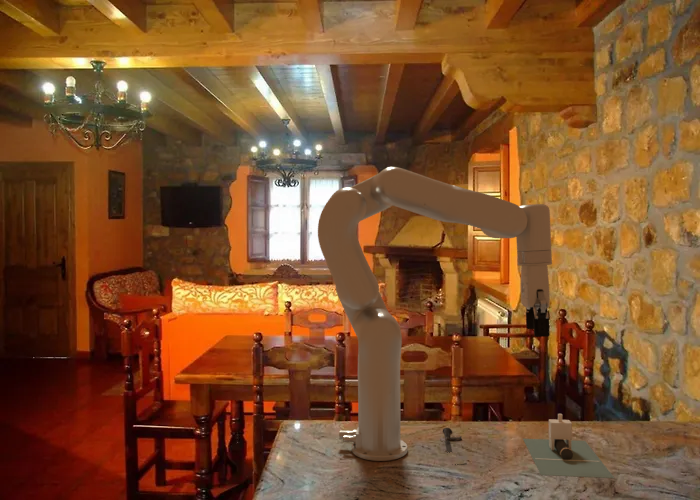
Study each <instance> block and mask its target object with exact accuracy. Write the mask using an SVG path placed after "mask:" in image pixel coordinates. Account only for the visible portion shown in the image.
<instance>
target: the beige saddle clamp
mask: <svg viewBox="0 0 700 500" xmlns="http://www.w3.org/2000/svg"><path fill="white" fill-rule="evenodd" d="M548 439H549V446H550V448H551V450H554V439H563V440H566V444H567V445H568V447H569V448H570V449H571V440H573V423H572V422H571V420H569V419H563V414H562V413H557V419H556V418H555V419H554V418H553V419H548Z"/></svg>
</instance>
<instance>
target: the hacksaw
mask: <svg viewBox="0 0 700 500" xmlns="http://www.w3.org/2000/svg"><path fill="white" fill-rule="evenodd" d="M442 433H443V435H444V439H445V441H444V442H445V449H446V454H447V453H448V452H449V453H450V452H452V453H453V450H452V445H451V444H452V443H451V441H456V442H457V441H462V440H463V439H462V436H457V437H454V436H453V437H451V434H452V433H453V430H452V429H451V428H450V427H445V428H444V427H443V428H442ZM447 451H448V452H447ZM456 464H457V465H456ZM451 465H452V466H453V465H454V466H466V465H468V464H467V462H464V463H454V464H451Z"/></svg>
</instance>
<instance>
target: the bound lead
mask: <svg viewBox="0 0 700 500" xmlns="http://www.w3.org/2000/svg"><path fill="white" fill-rule="evenodd" d="M554 445H555V447H556V449H557V450H558V452H559V453H560V455H561V457H562V458H563V459H564V460H570V459H572V457H573V452H572V451H571V449H570V448H569V447H568V445H567V444H566V442H565V441H564V439H554Z"/></svg>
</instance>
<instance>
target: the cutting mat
mask: <svg viewBox="0 0 700 500" xmlns="http://www.w3.org/2000/svg"><path fill="white" fill-rule="evenodd" d="M522 440H523V442H524V444H525V446H526V449H527V450H528V452H529V454H530V457H531V459H532V460H533V462H534V465H535V466H536V468H537V471H538V473H539V474H540V476H550V477H551V476H555V477H578V478H595V479H596V478H598V479H599V478H601V479H615V476H614V475H613V474H612V473H611V471H610V470H609V468H607V466H606V465H605V464H604V462H602V460H601V459H600V458H599V456H598V455H597V454H596V452H594V450H593V449H592V448H591V446H590V445H589V444H588V442H587V441H586V440H574V439H572V440H571V451H572V452H573V457H572V459H570V460H564V459H563V458H562V457H561V455H560V453H559V452H558V450H557V449H556V447H555V445H554V450H551V448H550V446H549V438H548V439H547V438H546V439H543V438H522ZM563 440H564V439H563ZM564 441H565V442H566V440H564Z"/></svg>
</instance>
